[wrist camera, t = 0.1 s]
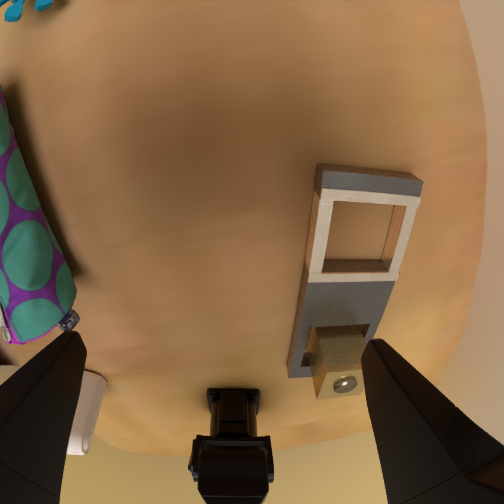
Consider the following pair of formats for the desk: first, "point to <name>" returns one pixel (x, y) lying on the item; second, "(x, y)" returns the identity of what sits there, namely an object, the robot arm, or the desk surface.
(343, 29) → the desk surface
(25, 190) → the pencil case
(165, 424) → the desk surface
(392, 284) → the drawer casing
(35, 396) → the robot arm
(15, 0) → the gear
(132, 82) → the desk surface
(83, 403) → the photo printer
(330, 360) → the wooden pull-out drawer
